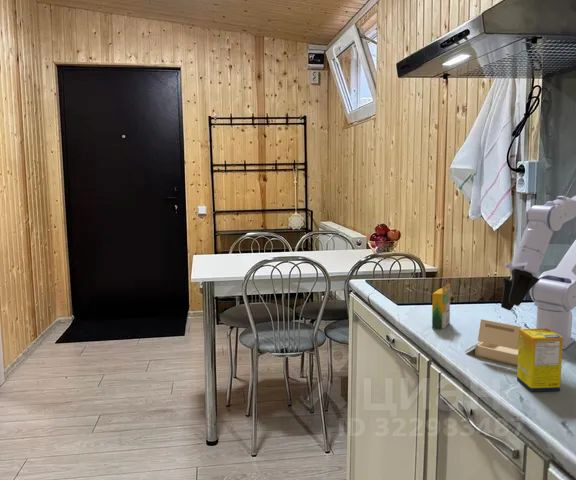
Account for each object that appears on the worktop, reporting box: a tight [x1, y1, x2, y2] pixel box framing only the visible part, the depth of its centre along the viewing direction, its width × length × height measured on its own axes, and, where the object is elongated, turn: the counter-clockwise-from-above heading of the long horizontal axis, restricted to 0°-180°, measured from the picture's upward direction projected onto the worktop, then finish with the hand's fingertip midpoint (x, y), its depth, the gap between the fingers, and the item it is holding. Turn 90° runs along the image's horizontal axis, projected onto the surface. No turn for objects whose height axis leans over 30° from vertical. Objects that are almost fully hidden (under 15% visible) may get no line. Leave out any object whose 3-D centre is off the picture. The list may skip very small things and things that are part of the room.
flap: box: [477, 319, 522, 350], centre depth 113 cm, size 5×9×1 cm
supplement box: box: [516, 328, 563, 393], centre depth 100 cm, size 6×6×11 cm
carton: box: [464, 341, 518, 367], centre depth 119 cm, size 15×15×2 cm
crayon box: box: [431, 282, 451, 330], centre depth 140 cm, size 7×3×12 cm, turn 147°
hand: (509, 306), depth 114 cm, fingers open, 7 cm apart
